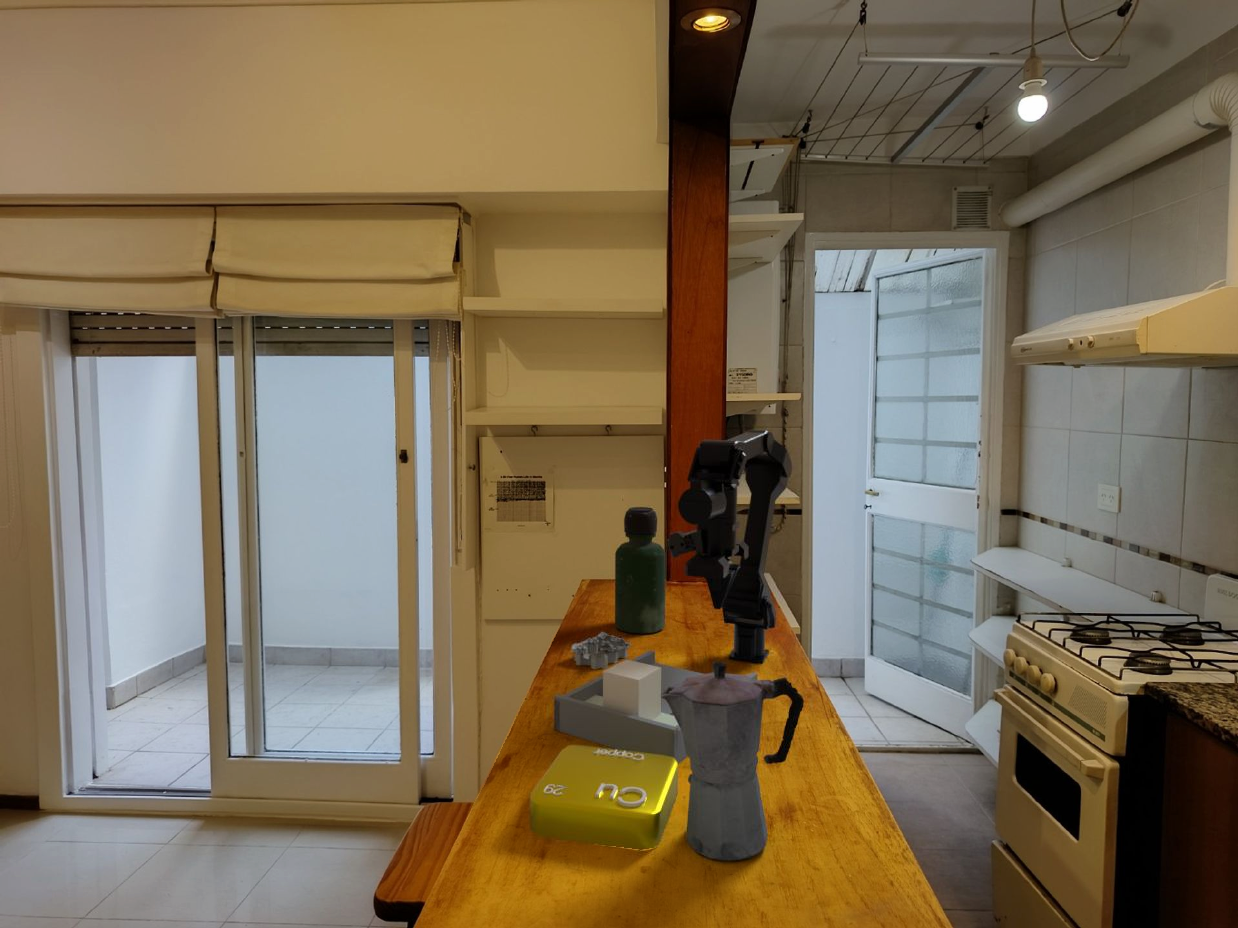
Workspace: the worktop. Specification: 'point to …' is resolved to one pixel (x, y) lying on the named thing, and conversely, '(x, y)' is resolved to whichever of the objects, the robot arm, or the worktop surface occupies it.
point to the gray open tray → (624, 717)
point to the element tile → (605, 797)
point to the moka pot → (727, 757)
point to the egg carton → (600, 650)
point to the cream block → (633, 689)
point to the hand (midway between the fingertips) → (717, 608)
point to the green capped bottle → (640, 575)
